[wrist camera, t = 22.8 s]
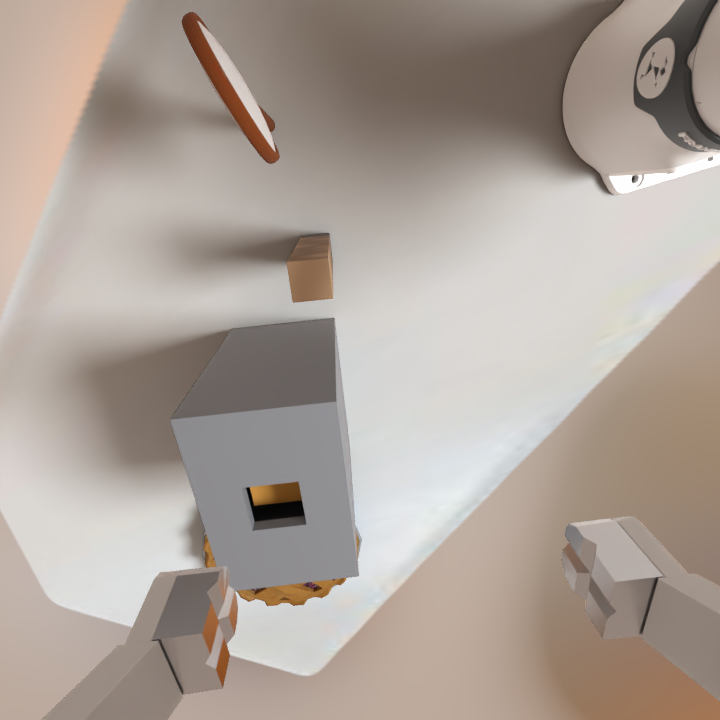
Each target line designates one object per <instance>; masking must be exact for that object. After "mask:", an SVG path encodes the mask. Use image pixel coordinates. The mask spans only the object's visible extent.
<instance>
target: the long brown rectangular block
mask: <svg viewBox="0 0 720 720" xmlns="http://www.w3.org/2000/svg"><path fill="white" fill-rule="evenodd" d="M287 268H288V275H289V281H290V287H291V293H292V300H293V303H294V302H304V301H314V300H323V299H333V261H332V252H331V244H330V235H329V233H326V234H316V235H306V236H301V238H300V239H299V241H298V243H297V245H296V246H295V248H294V250H293V252H292V254H291V255H290V257H289V259H288V261H287Z"/></svg>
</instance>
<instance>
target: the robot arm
mask: <svg viewBox="0 0 720 720" xmlns="http://www.w3.org/2000/svg"><path fill="white" fill-rule="evenodd" d="M563 121H564V126H565V130H566V134H567V137H568V139H569V141H570V144H571V145H572V147H573V149H574V150H575V152H576V153H577V154H578V155H579V156H580V158H581V159H582V160H584V161H585V162H586V163H587V164H589V165H590V166H592V167H593V168H595V169H596V170H597V171H598V172H599V173H600V175H601V177H602V179H603V181H604V183H605V185H606V187H607V189H608V190H609V191H610V192H611V193H612V194H614V195H620V194H626V193H629V192H633V191H636V190H639V189H642V188H646V187H649V186H652V185H656V184H659V183H662V182H665V181H669V180H672V179H675V178H678V177H682V176H685V175H688V174H692V173H695V172H698V171H701V170H705V169H708V168H711V167H714V166H718V165H720V0H624V1H623V3H622V4H621V5H620V6H619V7H618V8H617V9H616V10H615V11H614V12H613V13H612V14H610V15H609V16H608V17H607V18H606V19H604V20H603V21H602V22H601V23H600V24H599V25H598V26H597V27H596V28H595V29H594V30H593V31H592V32H591V34H590V35H589V36H588V37H587V39H586V40H585V41H584V43H583V44H582V46H581V47H580V49H579V51H578V53H577V54H576V56H575V58H574V60H573V63H572V65H571V68H570V70H569V73H568V76H567V80H566V84H565V88H564V95H563ZM633 175H634V181H633V182H631V178H632V176H633ZM565 537H566V538H567V540H568V542H569V544H567V546H566V547H565V548H564V549H563V552H562V564H563V568H564V573H565V575H566V578H567V580H568V582H569V584H570V586H571V588H572V589H573V591H574V592H575V593H576V594H578V595H579V596H580V597H582V598H583V599H585V600H586V606H585V611H586V613H587V615H588V616H589V618H590V620H591V621H592V623H593V624H594V626H595V628H596V630H597V631H598V633H599V635H600V636H601V638H602V639H615V638H624V637H635V636H642V637H641V638H642V639H643V640H644V641H645V642H647V643H648V644H649V645H650V646H652V647H653V648H654V649H655V650H657V651H658V652H659V653H660V654H662V655H663V656H664V657H665V658H667V659H668V660H669V661H670V662H672V663H673V664H674V665H675V666H676V667H678V668H679V669H680V670H681V671H683V672H684V673H685V674H687V675H688V676H689V677H691V679H693V680H694V681H695V682H696V683H698V684H699V685H700V686H701V687H703V688H704V689H705V690H706V691H708V692H709V693H710V694H711V695H713V696H714V697H715V698H716V699H718V700H719V701H720V586H718V585H717V584H715V583H712V582H711V581H709V580H707V579H705V578H703V577H701V576H699V575H698V574H688V572H686V570H685V569H684V568H683V567H682V566H681V565H680V564H679V563H678V562H677V561H676V560H675V558H674V557H673V556H672V555H671V554H670V553H669V552H668V551H667V550H666V549H665V548H664V547H663V545H662V544H661V543H660V542H659V541H658V540H657V539H656V538H655V537H654V536H653V535H652V534H651V533H650V532H649V530H648V529H647V528H646V527H645V526H644V525H643V524H642V523H641V522H640V521H639V520H638V519H637V518H635V517H633V516H628V517H620V518H611V519H601V520H594V521H586V522H579V523H572V524H569V525H568V526H567V527H566V531H565ZM229 580H230V574H229V571H228V568H227V567H226V566H221V567H210V568H199V569H189V570H180V571H171V572H161V573H159V574H158V576H157V577H156V578H155V579H154V581H153V583H152V585H151V588H150V590H149V592H148V594H147V596H146V599H145V601H144V603H143V605H142V608H141V610H140V612H139V614H138V616H137V619H136V621H135V623H134V625H133V628H132V630H131V632H130V634H129V637H128V639H127V641H126V643H125V645H118V646H117V647H116V648H115V649H114V650H113V651H112V652H111V653H110V654H109V655H108V656H107V657H106V658H105V659H104V660H103V661H101V662H100V663H99V664H98V665H97V666H96V667H95V668H94V669H93V670H92V671H91V672H90V673H89V674H88V675H87V676H86V677H85V678H84V679H83V680H82V681H81V682H80V683H79V684H78V685H77V686H76V687H75V688H74V689H72V690H71V691H70V692H69V693H68V694H67V695H66V696H65V697H64V698H63V699H62V700H61V701H60V702H59V703H58V704H57V705H56V706H55V707H54V708H53V709H52V710H51V711H50V712H49V713H48V714H47V715H46V716H45V717H43V718H42V720H168V718H169V717H170V715H171V714H172V713H173V711H174V710H175V708H176V707H177V705H178V704H179V703H180V701H181V700H182V698H183V695H184V694H190V693H197V692H203V691H209V690H215V689H221V688H223V685H224V681H225V676H226V671H227V667H228V662H229V657H230V654H229V651H228V648H227V645H226V644H227V643H228V642H229V641H230V639H231V638H232V637H233V636H234V634H235V629H236V624H237V613H238V604H237V597H236V593H235V590H234V589H233V588H231V587H230V586H228V584H229Z"/></svg>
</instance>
